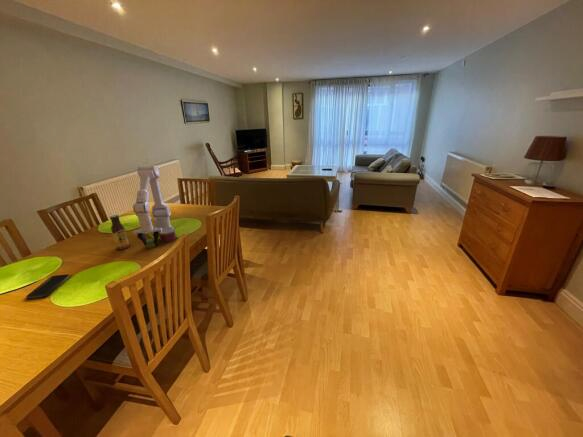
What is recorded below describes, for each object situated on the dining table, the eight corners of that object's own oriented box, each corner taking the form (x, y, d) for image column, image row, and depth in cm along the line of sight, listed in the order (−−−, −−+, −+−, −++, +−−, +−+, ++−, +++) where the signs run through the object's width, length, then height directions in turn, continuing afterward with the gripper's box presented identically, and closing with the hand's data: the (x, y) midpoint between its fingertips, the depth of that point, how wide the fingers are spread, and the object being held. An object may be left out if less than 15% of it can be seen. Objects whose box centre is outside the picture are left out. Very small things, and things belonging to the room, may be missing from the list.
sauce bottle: (123, 250, 137) (112, 218, 129) (114, 249, 138) (103, 218, 130) (132, 245, 143) (123, 214, 135) (123, 244, 144) (113, 213, 136)
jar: (156, 241, 146) (153, 232, 144) (167, 234, 155) (165, 226, 153) (168, 243, 144) (166, 234, 141) (180, 236, 152) (178, 227, 150)
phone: (24, 297, 100) (51, 275, 113) (25, 299, 100) (52, 277, 114) (45, 295, 101) (70, 274, 114) (46, 297, 101) (71, 276, 115)
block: (147, 248, 139) (145, 242, 137) (149, 244, 143) (147, 238, 141) (154, 247, 140) (153, 241, 138) (156, 244, 143) (155, 238, 142)
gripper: (128, 227, 130) (135, 248, 136) (157, 224, 133) (163, 245, 138) (133, 222, 137) (139, 242, 142) (161, 219, 140) (166, 240, 145)
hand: (151, 243), depth 141 cm, fingers open, 5 cm apart
